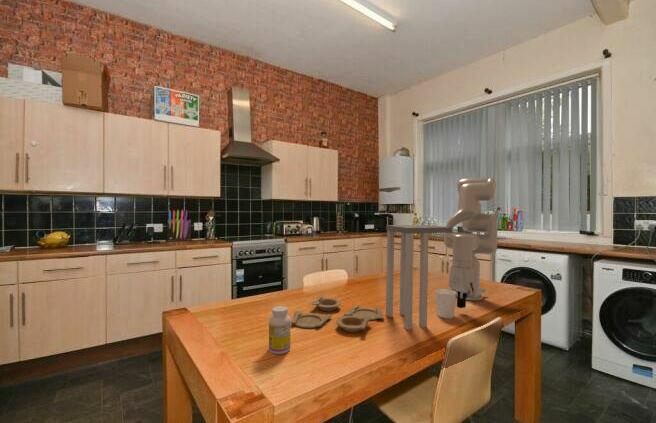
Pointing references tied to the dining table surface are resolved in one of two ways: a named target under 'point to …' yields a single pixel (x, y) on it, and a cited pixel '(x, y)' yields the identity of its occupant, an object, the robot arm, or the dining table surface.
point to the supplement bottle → (279, 331)
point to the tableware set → (346, 322)
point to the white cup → (445, 303)
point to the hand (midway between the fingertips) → (461, 307)
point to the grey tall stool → (409, 270)
